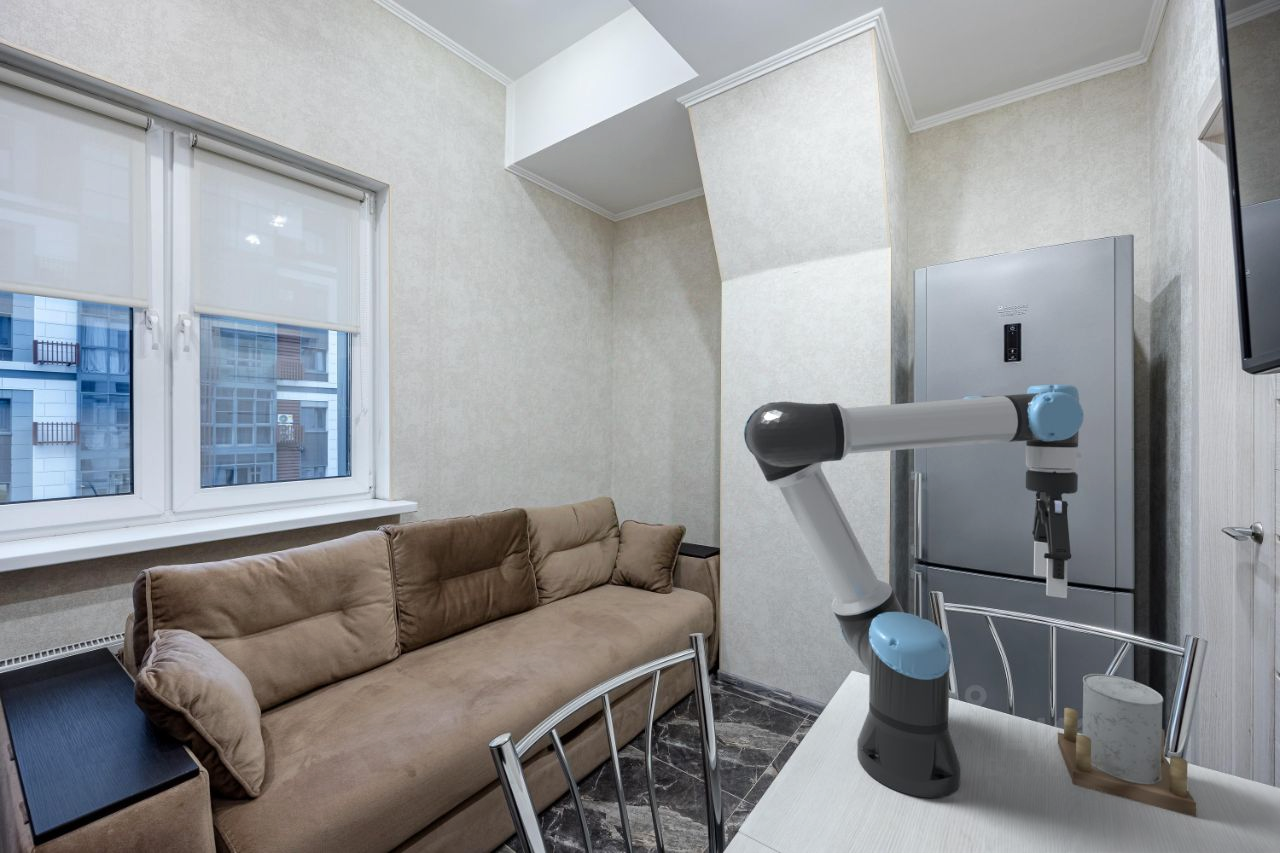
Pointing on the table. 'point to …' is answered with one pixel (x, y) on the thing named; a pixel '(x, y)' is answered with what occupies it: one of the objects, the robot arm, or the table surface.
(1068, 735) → the peg stand
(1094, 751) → the grey marbled cylinder
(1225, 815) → the table surface
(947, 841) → the table surface
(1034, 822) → the table surface
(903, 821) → the table surface
